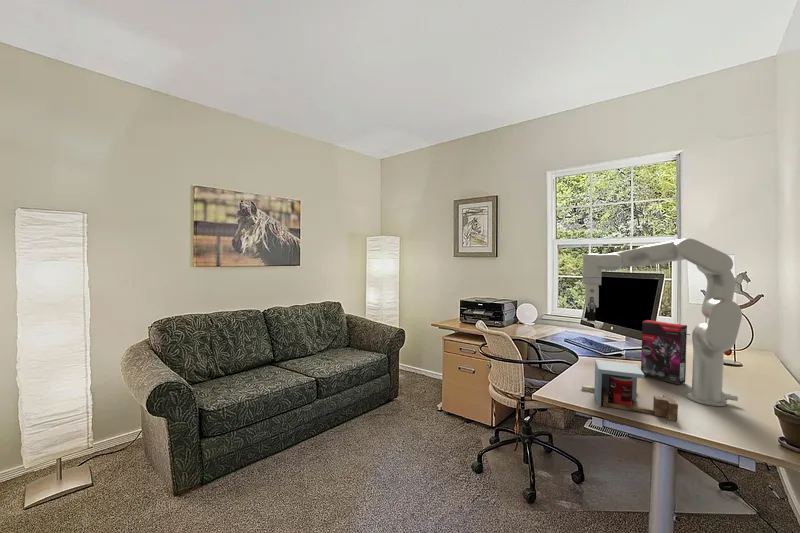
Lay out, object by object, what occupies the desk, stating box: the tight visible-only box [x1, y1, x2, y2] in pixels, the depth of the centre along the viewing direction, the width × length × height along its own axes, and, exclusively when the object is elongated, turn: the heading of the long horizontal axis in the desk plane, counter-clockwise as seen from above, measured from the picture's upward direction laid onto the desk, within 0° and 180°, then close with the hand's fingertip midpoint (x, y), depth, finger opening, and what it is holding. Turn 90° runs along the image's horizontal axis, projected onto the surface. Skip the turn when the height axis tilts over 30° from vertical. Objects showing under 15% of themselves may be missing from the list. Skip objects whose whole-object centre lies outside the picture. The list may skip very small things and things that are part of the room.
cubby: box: [593, 359, 645, 408], centre depth 147 cm, size 15×15×14 cm
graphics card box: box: [640, 319, 688, 385], centre depth 178 cm, size 17×7×27 cm, turn 32°
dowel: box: [581, 384, 595, 393], centre depth 160 cm, size 12×2×2 cm, turn 64°
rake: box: [601, 387, 679, 422], centre depth 142 cm, size 23×15×6 cm, turn 66°
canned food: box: [608, 375, 633, 406], centre depth 147 cm, size 8×8×11 cm
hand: (590, 319), depth 166 cm, fingers open, 9 cm apart
